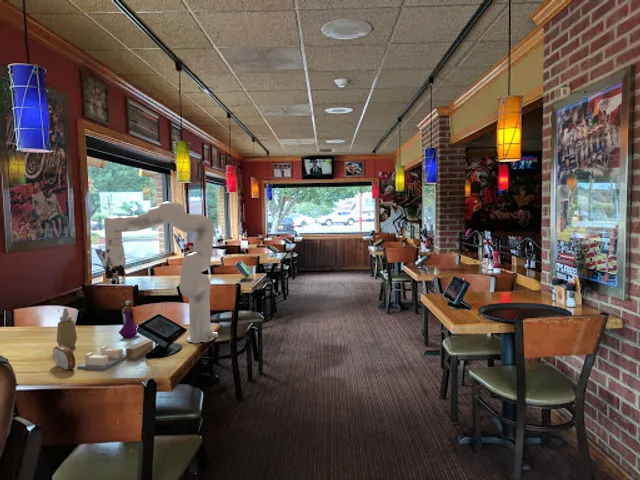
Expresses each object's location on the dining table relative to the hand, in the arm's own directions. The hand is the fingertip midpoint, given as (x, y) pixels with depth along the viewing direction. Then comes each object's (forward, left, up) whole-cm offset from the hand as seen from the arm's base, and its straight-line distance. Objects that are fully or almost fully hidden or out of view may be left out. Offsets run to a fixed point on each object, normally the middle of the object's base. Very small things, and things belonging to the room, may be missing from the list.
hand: (115, 277), depth 214 cm
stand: (-19, +34, -30) cm, 49 cm away
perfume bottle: (-5, -2, -30) cm, 31 cm away
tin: (-7, +42, -30) cm, 53 cm away
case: (-29, +25, -30) cm, 49 cm away
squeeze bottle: (+13, +18, -30) cm, 38 cm away
